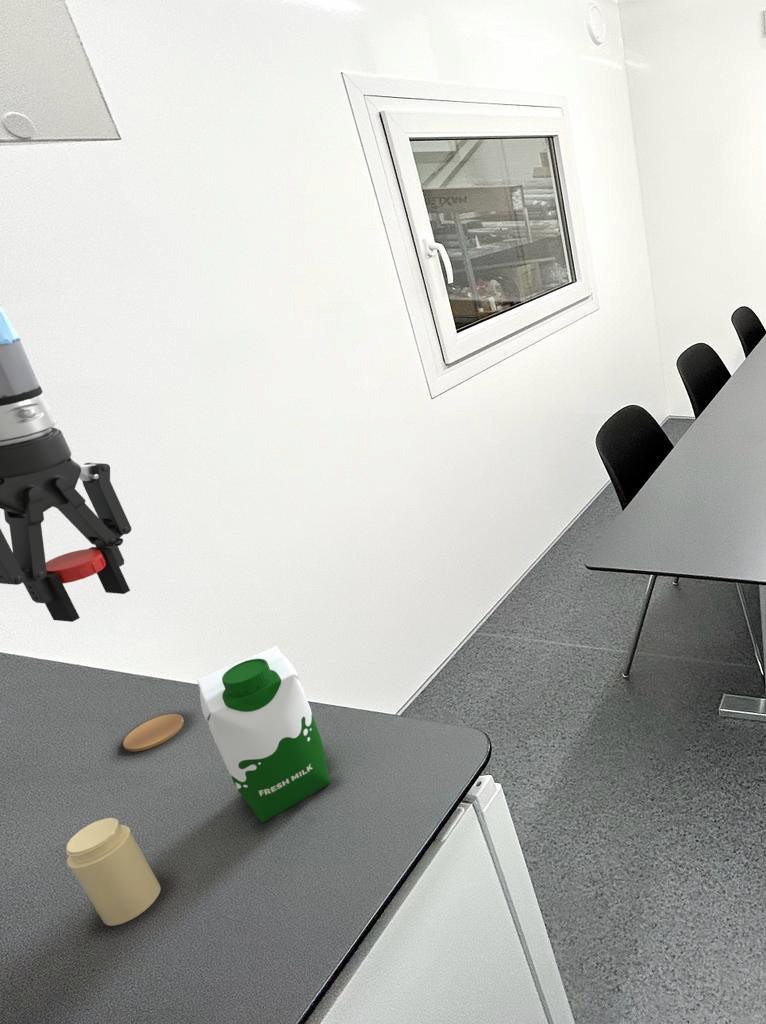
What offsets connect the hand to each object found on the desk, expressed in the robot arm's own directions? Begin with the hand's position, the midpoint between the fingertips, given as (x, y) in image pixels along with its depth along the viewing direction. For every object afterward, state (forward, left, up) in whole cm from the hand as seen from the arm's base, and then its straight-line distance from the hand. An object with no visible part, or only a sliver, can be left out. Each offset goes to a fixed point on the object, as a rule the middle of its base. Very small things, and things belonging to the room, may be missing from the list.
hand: (93, 604), depth 79 cm
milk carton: (+24, -10, -22) cm, 34 cm away
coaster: (0, 0, -22) cm, 22 cm away
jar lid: (0, 0, +6) cm, 6 cm away
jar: (+17, -23, -22) cm, 36 cm away
